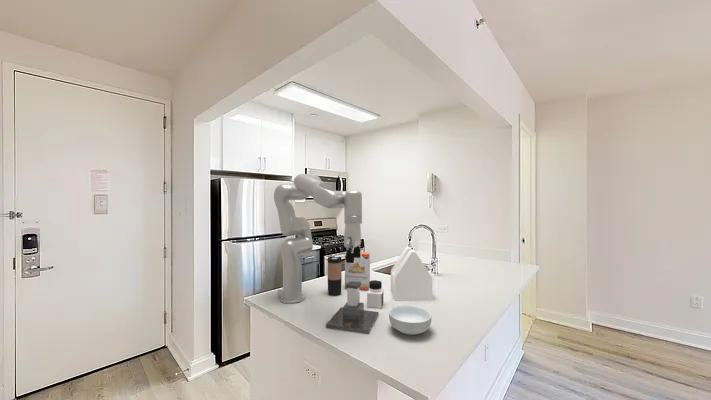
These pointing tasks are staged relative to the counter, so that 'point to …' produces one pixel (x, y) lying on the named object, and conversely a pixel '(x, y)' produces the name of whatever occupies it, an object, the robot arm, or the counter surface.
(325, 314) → the counter surface
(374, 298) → the medicine bottle
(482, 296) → the counter surface
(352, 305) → the column
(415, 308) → the cereal bowl
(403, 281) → the white house-shaped block
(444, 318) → the counter surface
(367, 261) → the cracker box
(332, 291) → the travel mug
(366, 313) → the stand base
